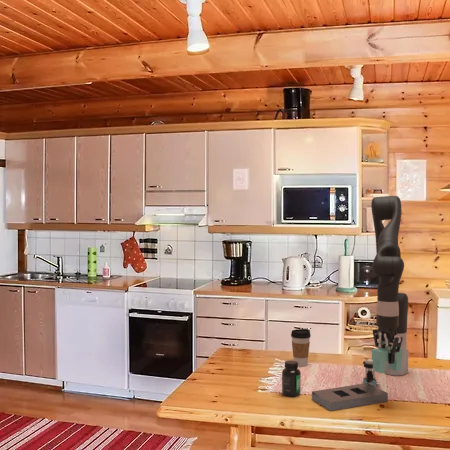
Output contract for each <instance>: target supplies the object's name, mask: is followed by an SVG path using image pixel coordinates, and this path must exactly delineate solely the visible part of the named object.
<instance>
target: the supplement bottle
mask: <svg viewBox="0 0 450 450" xmlns="http://www.w3.org/2000/svg"><path fill="white" fill-rule="evenodd" d="M301 374H302V373H301V370H300V369H299V366H298V362H297V361H294V360H285V362H284V368H283V369H282V370H281V394H282V395H283V396H285V397H286V398H287V397H288V398H296V396H297V397H299V396H300V395H301V387H302V386H301V385H302V384H301V383H302V382H301V381H302V379H301V376H302V375H301Z"/></svg>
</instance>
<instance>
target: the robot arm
mask: <svg viewBox="0 0 450 450" xmlns="http://www.w3.org/2000/svg"><path fill="white" fill-rule="evenodd" d="M370 207H371V214H372V221H373V222H372V223H373V227H374V235H375V250H376V252H375V253H376V254H375V257H374V259H373V261H372V264H371V265H372V267H371V268H372V272H373V274H374V275H375V276H377V277H378V280H379V284H378V286H377V291H376V292H377V295H376V296H377V297H376V299H377V301H376V312H375V313H376V319H375V320H376V321H375V322H376V327H378V328H376V329H372V334H373V335H372V336H373V340H374V346H375V347H376V348H377V349H378V348H386V347H388V361H385V373H384V374H386V375H388V376H389V375H390V376H404V375H406V374H408V373H409V352H410V351H409V349H407V347H408V345H407V343H408V342H407V339H408V338H407V335H408V334H407V333H408V314H409V313H408V312H409V297H408V295H407V293H404V292H399V288H400V282H401V279H402V275H403V272H404V268H405V262H404V260H403V259H402V253H401V249H400V246H399V232H400V229H401V228H400V227H401V221H402V212H403V211H402V210H403V209H402V202H401V198H400V197H399V196H398V195H387V196H386V195H385V196H375V197H373V198H372V199H371V206H370ZM388 220H389V221H388ZM383 221H388V223H387V224H386V225H385V226H384V224H383ZM391 347H392V350H391ZM396 347H397V349H396ZM400 348H401V349H402V359H401V370H399V371H395V370H393V369H391V368H389V364H393V363H394V362H395V353H396V352H399V351H400Z"/></svg>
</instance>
